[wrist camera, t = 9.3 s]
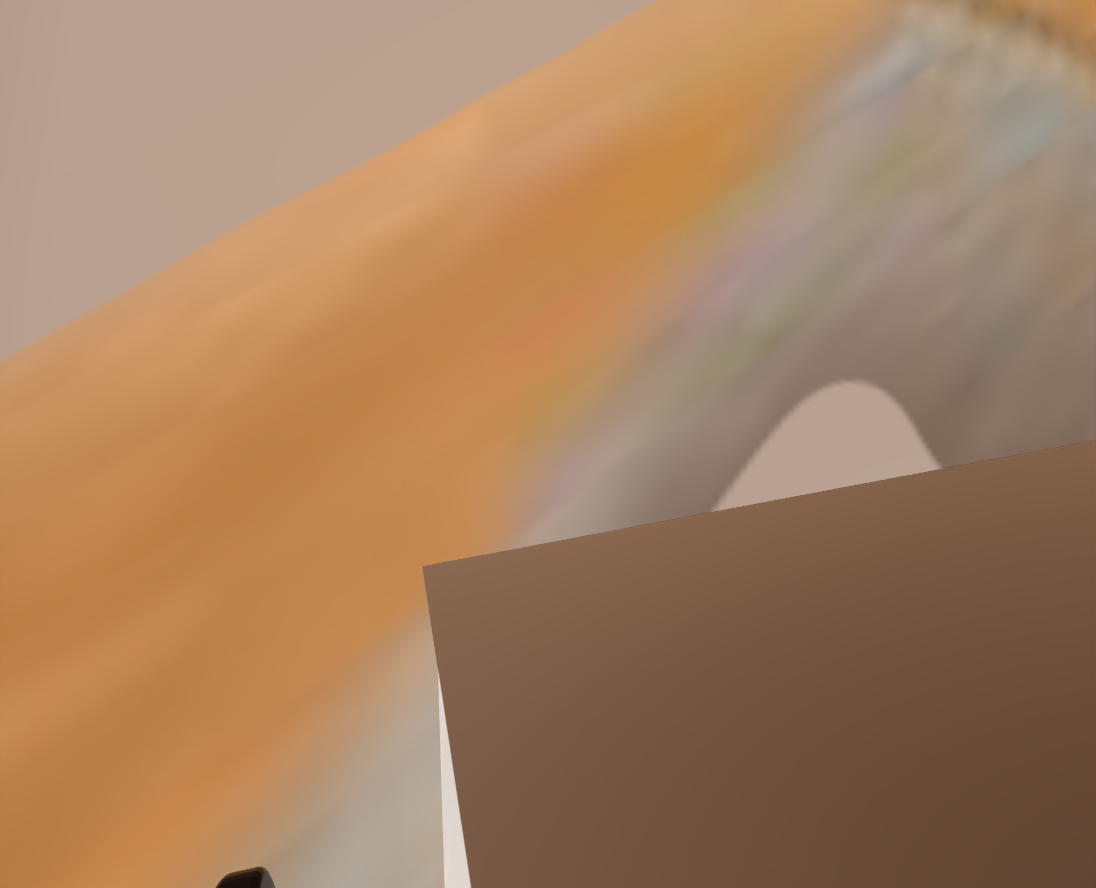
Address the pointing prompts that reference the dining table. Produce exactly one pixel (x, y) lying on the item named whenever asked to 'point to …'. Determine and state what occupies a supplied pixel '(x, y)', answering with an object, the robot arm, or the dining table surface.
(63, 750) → the dining table surface
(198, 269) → the dining table surface
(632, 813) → the walnut baton
